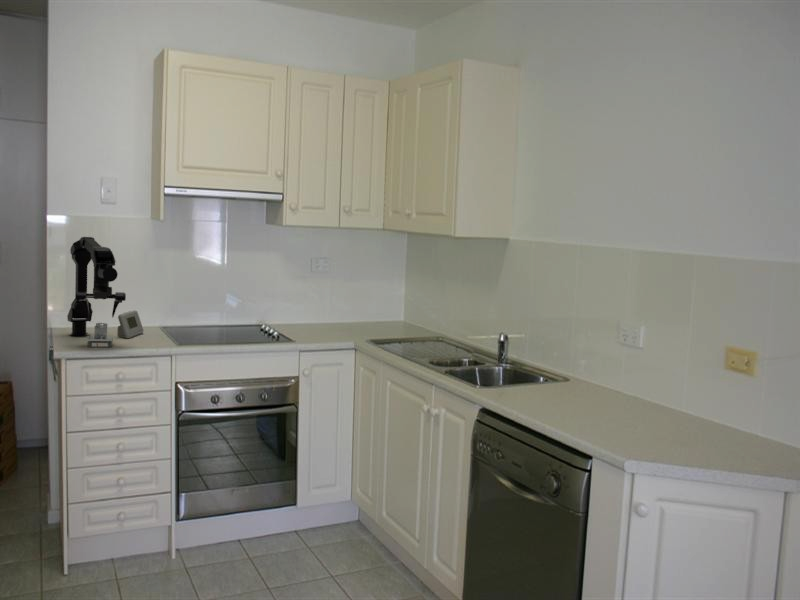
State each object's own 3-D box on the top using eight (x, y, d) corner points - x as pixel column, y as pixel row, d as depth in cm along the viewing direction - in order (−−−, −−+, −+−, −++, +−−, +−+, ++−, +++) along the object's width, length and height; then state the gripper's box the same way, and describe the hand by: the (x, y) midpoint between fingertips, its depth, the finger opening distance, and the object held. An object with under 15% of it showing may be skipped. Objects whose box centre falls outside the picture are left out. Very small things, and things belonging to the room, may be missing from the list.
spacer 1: (94, 334, 307) (95, 322, 307) (105, 334, 310) (106, 322, 309) (96, 336, 304) (97, 324, 303) (107, 336, 306) (108, 324, 306)
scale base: (89, 342, 308) (89, 337, 307) (112, 342, 311) (112, 337, 310) (87, 347, 298) (87, 342, 298) (111, 347, 301) (111, 342, 301)
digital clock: (127, 339, 320) (127, 315, 319) (109, 337, 322) (110, 313, 321) (149, 334, 336) (150, 311, 334) (132, 332, 338) (133, 309, 337)
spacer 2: (94, 337, 303) (94, 325, 302) (106, 337, 304) (106, 325, 304) (94, 339, 299) (94, 327, 298) (105, 339, 300) (106, 327, 300)
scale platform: (89, 336, 307) (89, 334, 307) (112, 336, 310) (112, 335, 310) (87, 341, 298) (87, 339, 298) (111, 341, 301) (111, 339, 301)
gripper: (74, 280, 288) (73, 319, 290) (125, 281, 294) (124, 320, 296) (76, 277, 299) (76, 315, 300) (126, 279, 305) (125, 316, 307)
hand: (100, 317), depth 301 cm, fingers open, 9 cm apart
